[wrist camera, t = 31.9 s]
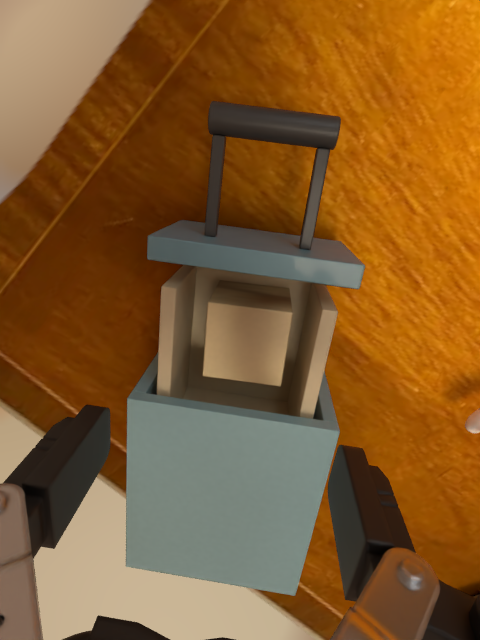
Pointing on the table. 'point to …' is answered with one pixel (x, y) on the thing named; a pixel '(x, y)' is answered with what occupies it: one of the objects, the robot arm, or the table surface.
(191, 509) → the cabinet
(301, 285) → the drawer
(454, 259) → the table surface
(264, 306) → the block
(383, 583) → the robot arm
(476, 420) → the figurine
